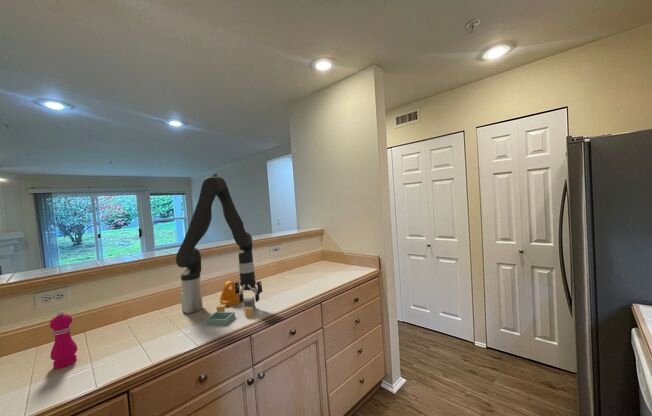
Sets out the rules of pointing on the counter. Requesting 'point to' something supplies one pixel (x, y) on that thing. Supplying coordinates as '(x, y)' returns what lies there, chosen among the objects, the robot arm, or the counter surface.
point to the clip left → (221, 308)
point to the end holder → (213, 321)
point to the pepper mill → (62, 341)
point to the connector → (249, 302)
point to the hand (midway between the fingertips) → (249, 301)
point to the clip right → (248, 311)
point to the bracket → (229, 294)
